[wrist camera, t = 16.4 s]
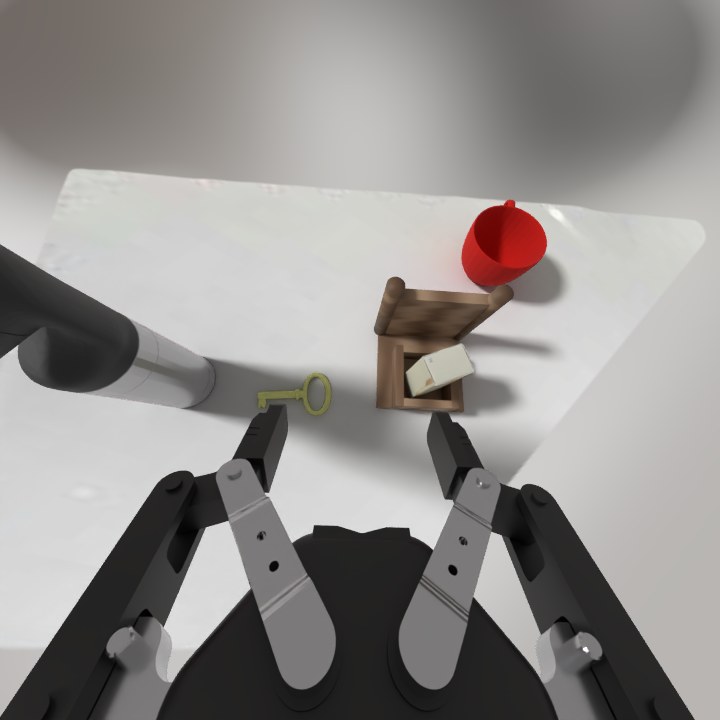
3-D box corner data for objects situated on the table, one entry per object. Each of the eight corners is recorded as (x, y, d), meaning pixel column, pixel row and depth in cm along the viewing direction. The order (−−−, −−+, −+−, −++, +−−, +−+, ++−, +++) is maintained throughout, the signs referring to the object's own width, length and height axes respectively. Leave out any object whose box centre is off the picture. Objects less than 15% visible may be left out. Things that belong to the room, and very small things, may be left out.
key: (257, 394, 45) (252, 392, 43) (324, 370, 47) (323, 367, 45) (268, 435, 43) (265, 435, 41) (338, 408, 45) (338, 406, 43)
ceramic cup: (517, 239, 56) (552, 199, 47) (506, 306, 52) (543, 277, 42) (459, 223, 57) (482, 180, 47) (444, 288, 52) (466, 255, 43)
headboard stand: (371, 407, 45) (385, 394, 29) (373, 325, 49) (386, 276, 34) (466, 412, 46) (528, 401, 30) (460, 330, 50) (512, 284, 34)
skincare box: (409, 399, 45) (433, 387, 33) (400, 376, 46) (419, 356, 34) (443, 387, 46) (477, 371, 34) (433, 364, 47) (463, 341, 35)
